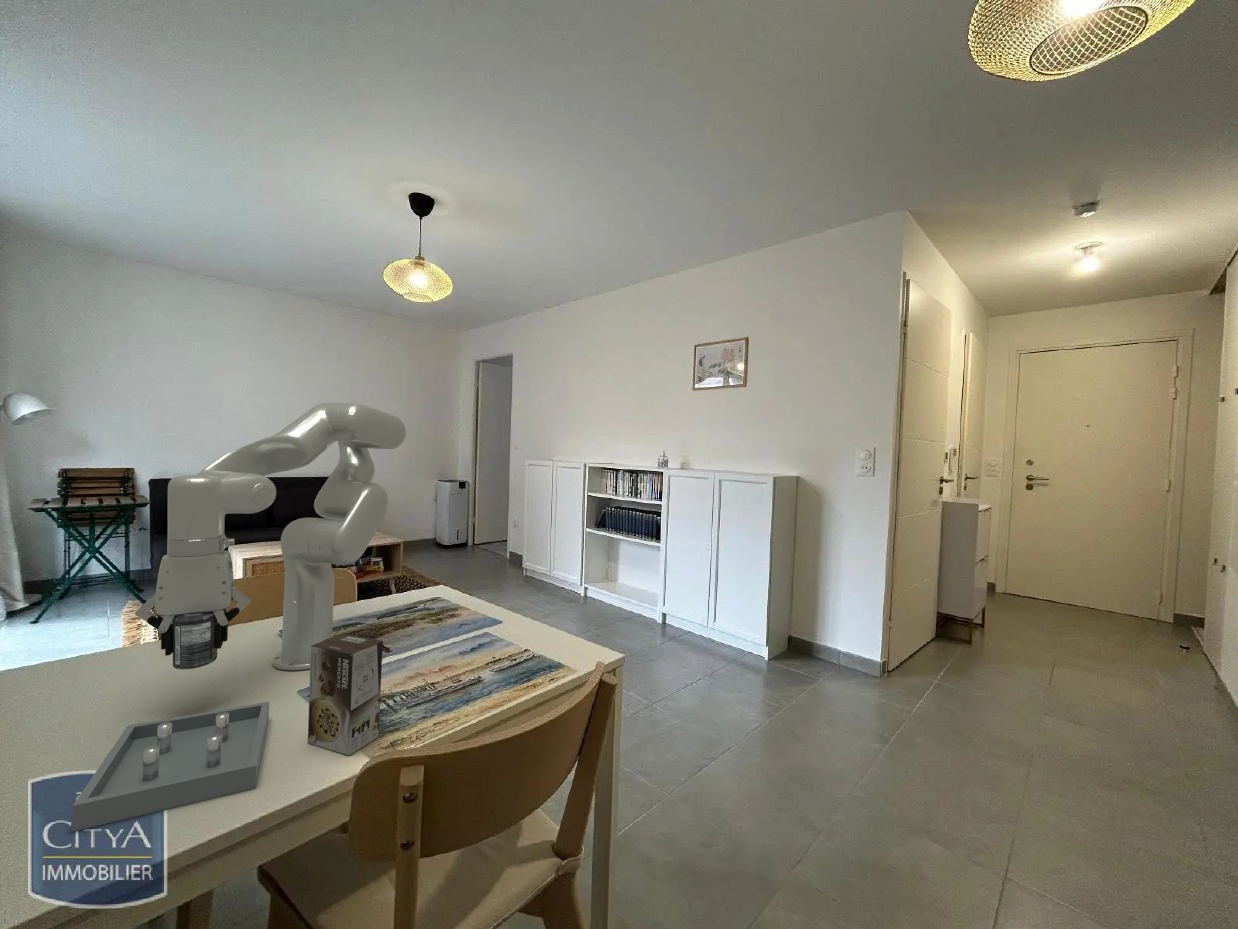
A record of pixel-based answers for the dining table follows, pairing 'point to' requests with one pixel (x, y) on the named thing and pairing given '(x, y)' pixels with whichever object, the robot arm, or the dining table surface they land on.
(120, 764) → the pin tray
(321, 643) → the coffee box
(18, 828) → the dining table surface
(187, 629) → the pill bottle
